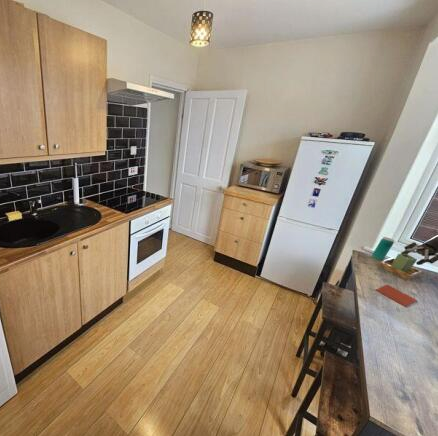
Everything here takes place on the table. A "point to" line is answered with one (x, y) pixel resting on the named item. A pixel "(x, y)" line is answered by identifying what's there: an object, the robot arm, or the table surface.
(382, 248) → the beverage can
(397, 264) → the green basket
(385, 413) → the table surface
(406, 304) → the mat
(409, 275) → the rattan basket
